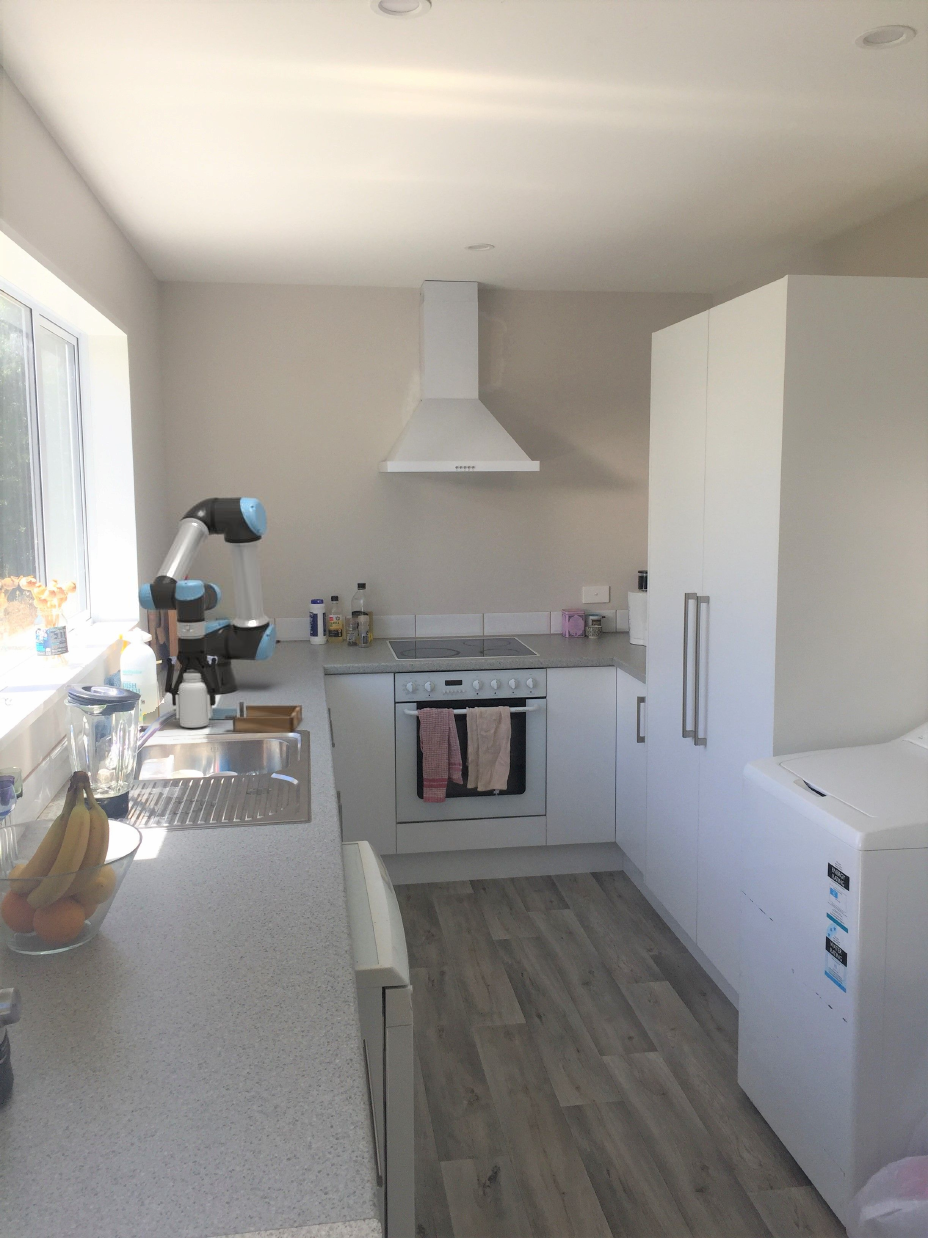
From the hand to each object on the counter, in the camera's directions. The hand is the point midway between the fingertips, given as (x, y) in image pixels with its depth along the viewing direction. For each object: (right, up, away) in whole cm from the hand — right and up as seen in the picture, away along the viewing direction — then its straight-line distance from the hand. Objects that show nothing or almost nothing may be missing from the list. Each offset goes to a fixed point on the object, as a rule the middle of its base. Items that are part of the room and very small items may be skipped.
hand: (194, 716), depth 267 cm
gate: (+3, -1, +9) cm, 10 cm away
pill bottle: (0, -2, 0) cm, 3 cm away
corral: (+19, -3, +2) cm, 19 cm away
